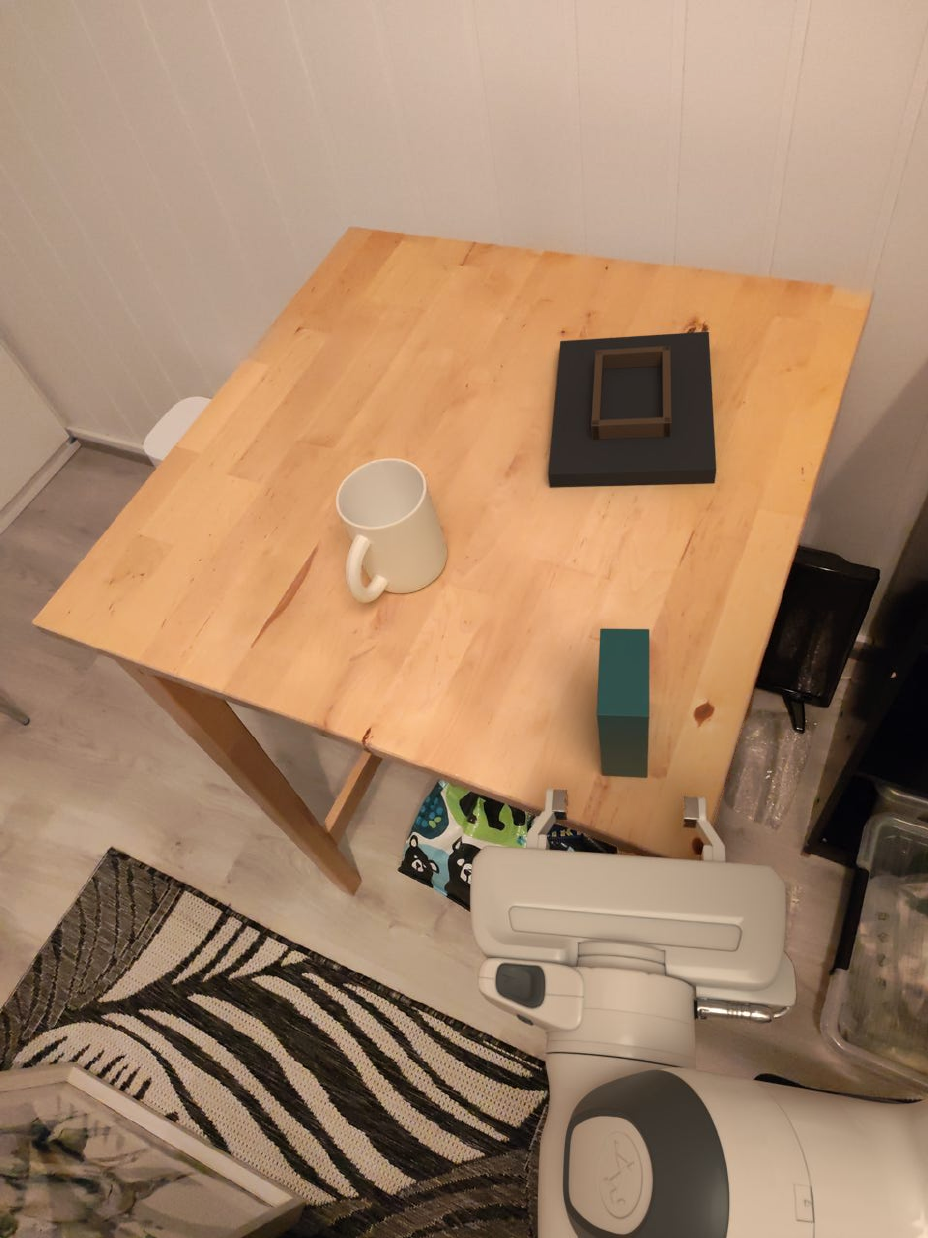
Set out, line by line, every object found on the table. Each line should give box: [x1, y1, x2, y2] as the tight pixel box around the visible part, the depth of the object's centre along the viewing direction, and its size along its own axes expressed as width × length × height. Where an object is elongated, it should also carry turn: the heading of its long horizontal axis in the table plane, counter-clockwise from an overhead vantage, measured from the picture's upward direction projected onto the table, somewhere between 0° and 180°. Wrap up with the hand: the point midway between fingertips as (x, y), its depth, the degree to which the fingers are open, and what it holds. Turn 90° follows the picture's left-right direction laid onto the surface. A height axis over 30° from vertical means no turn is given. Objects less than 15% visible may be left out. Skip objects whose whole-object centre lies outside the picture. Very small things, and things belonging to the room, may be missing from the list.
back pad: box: [596, 628, 650, 778], centre depth 61 cm, size 4×7×11 cm, turn 173°
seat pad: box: [547, 331, 717, 488], centre depth 83 cm, size 16×20×4 cm
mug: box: [335, 457, 448, 603], centre depth 74 cm, size 12×8×10 cm
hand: (624, 795), depth 57 cm, fingers open, 8 cm apart
